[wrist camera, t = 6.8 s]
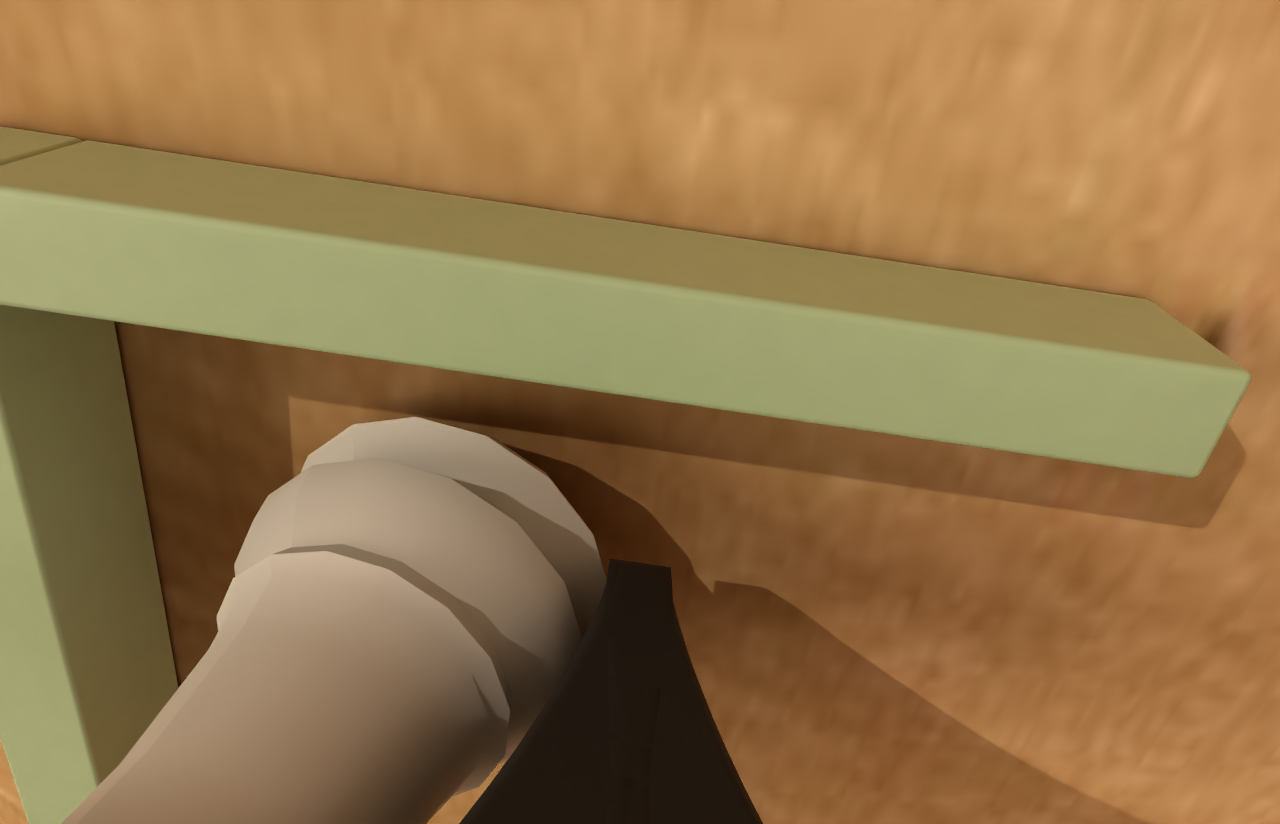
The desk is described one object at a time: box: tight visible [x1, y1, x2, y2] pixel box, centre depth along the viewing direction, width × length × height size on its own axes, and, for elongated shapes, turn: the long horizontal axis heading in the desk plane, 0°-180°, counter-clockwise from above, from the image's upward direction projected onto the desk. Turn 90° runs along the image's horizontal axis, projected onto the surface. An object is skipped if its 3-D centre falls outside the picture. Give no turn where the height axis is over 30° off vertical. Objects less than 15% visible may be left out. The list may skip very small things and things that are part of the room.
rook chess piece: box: [61, 417, 607, 824], centre depth 8 cm, size 4×4×8 cm
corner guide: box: [0, 126, 1251, 824], centre depth 12 cm, size 15×13×2 cm
